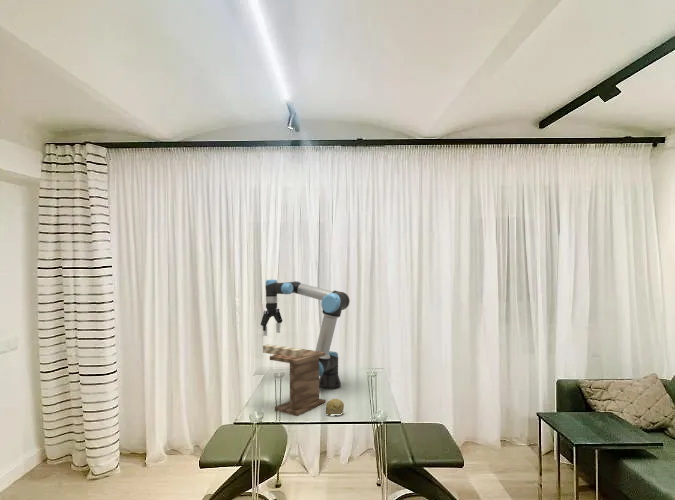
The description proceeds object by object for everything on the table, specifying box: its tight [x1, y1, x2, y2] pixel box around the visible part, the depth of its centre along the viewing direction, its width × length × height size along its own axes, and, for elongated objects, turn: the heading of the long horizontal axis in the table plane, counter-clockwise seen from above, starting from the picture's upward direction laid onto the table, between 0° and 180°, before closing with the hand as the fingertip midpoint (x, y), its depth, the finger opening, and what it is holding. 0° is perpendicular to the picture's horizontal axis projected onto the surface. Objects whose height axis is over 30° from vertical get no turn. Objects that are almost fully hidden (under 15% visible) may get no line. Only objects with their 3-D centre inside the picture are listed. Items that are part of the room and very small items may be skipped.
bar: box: [262, 344, 304, 358], centre depth 271 cm, size 26×4×4 cm, turn 56°
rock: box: [325, 398, 345, 416], centre depth 260 cm, size 10×11×10 cm
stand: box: [269, 348, 326, 417], centre depth 273 cm, size 20×26×30 cm
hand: (271, 334), depth 319 cm, fingers open, 13 cm apart
